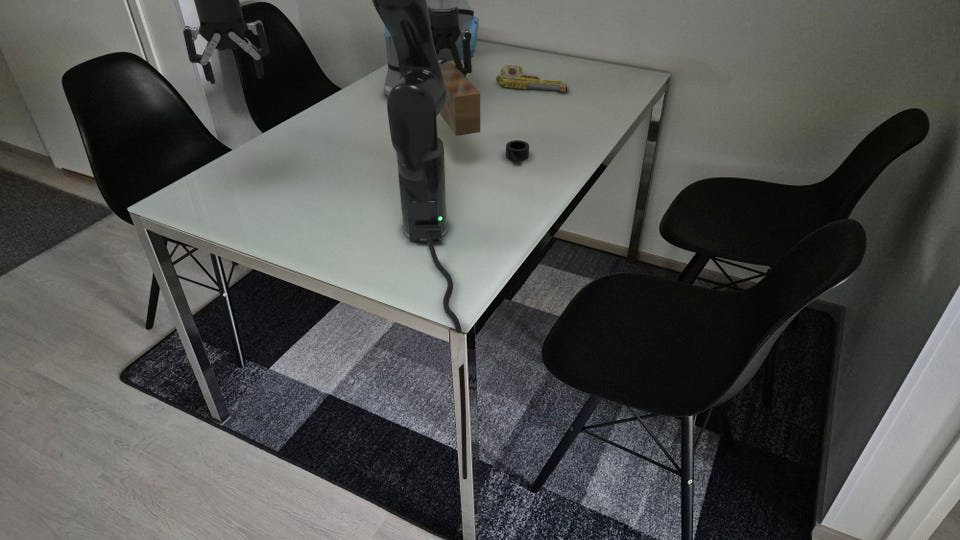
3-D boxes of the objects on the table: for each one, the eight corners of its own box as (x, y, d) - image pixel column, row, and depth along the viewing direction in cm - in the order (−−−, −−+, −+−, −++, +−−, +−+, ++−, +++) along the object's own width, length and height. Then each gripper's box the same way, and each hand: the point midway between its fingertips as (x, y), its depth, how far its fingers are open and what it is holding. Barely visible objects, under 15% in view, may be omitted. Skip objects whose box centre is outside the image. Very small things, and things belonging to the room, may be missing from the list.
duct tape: (493, 159, 157) (493, 148, 155) (515, 144, 163) (515, 134, 161) (519, 168, 153) (519, 157, 151) (540, 152, 160) (541, 142, 158)
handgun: (571, 77, 201) (567, 95, 190) (501, 70, 205) (493, 87, 193) (572, 69, 200) (567, 86, 188) (501, 63, 203) (493, 79, 191)
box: (480, 132, 147) (480, 93, 141) (456, 136, 146) (454, 96, 140) (453, 98, 163) (451, 62, 157) (430, 101, 162) (428, 65, 156)
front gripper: (255, -18, 115) (273, 69, 125) (173, -12, 112) (198, 77, 122) (256, -8, 110) (275, 83, 119) (169, -1, 106) (196, 91, 116)
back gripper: (475, -1, 151) (476, 92, 165) (398, 7, 146) (405, 102, 160) (486, 7, 145) (486, 103, 159) (406, 16, 140) (413, 113, 154)
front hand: (236, 80), depth 121 cm, fingers open, 8 cm apart
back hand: (445, 102), depth 159 cm, fingers closed on box, 6 cm apart
